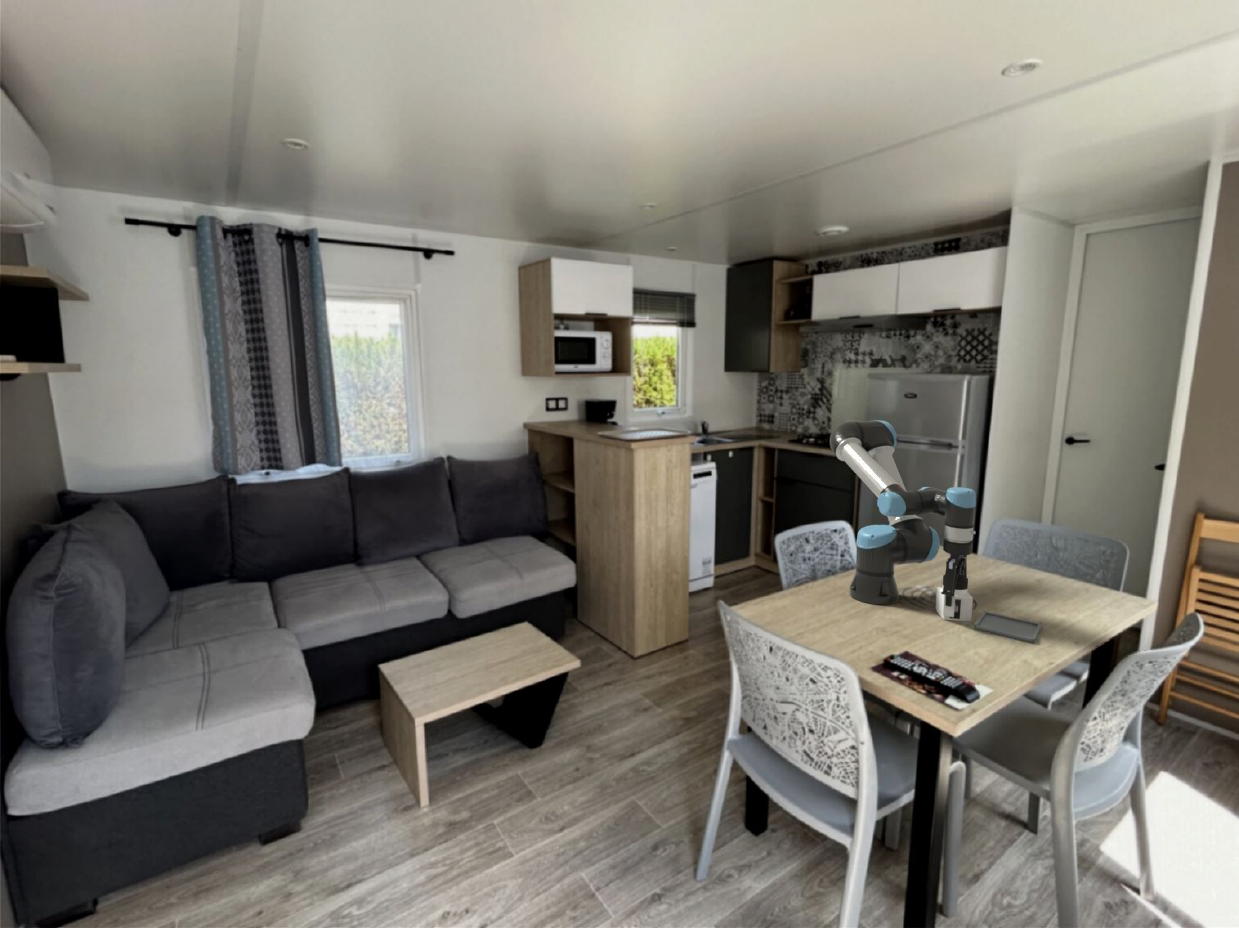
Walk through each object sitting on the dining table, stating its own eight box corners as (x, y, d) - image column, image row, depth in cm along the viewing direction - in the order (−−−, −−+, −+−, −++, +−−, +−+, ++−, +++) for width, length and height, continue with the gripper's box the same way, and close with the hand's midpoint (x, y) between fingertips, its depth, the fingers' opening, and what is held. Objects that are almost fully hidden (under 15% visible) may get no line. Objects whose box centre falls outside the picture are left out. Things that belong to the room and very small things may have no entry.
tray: (973, 629, 169) (973, 625, 169) (983, 614, 178) (984, 610, 178) (1033, 644, 159) (1034, 639, 159) (1041, 627, 169) (1042, 623, 169)
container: (971, 621, 174) (974, 580, 172) (943, 620, 175) (946, 578, 173) (962, 611, 181) (965, 571, 179) (935, 610, 183) (937, 570, 181)
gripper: (962, 550, 164) (957, 625, 167) (981, 533, 180) (976, 601, 184) (933, 546, 169) (928, 618, 172) (954, 529, 185) (949, 596, 189)
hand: (953, 610), depth 178 cm, fingers closed on container, 10 cm apart
